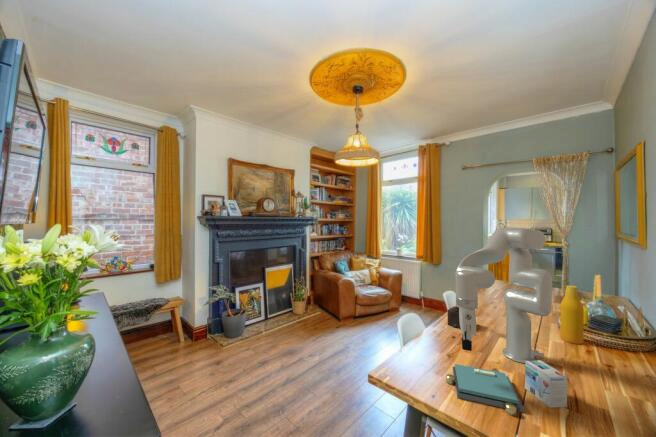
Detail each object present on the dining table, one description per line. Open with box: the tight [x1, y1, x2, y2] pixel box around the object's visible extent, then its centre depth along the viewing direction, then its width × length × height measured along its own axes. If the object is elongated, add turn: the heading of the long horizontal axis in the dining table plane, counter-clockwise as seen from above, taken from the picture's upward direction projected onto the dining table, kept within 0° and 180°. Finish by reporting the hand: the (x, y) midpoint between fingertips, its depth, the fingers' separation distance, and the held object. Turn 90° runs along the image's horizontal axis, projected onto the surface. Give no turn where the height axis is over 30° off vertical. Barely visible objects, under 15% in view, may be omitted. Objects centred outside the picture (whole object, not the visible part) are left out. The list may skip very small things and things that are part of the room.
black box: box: [447, 306, 461, 330], centre depth 158 cm, size 16×11×18 cm
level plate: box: [454, 363, 518, 404], centre depth 100 cm, size 18×17×3 cm
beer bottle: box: [559, 284, 585, 345], centre depth 140 cm, size 9×9×29 cm
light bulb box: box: [524, 360, 568, 408], centre depth 96 cm, size 11×7×11 cm, turn 5°
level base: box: [445, 366, 524, 417], centre depth 101 cm, size 23×24×2 cm
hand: (466, 349), depth 102 cm, fingers closed
